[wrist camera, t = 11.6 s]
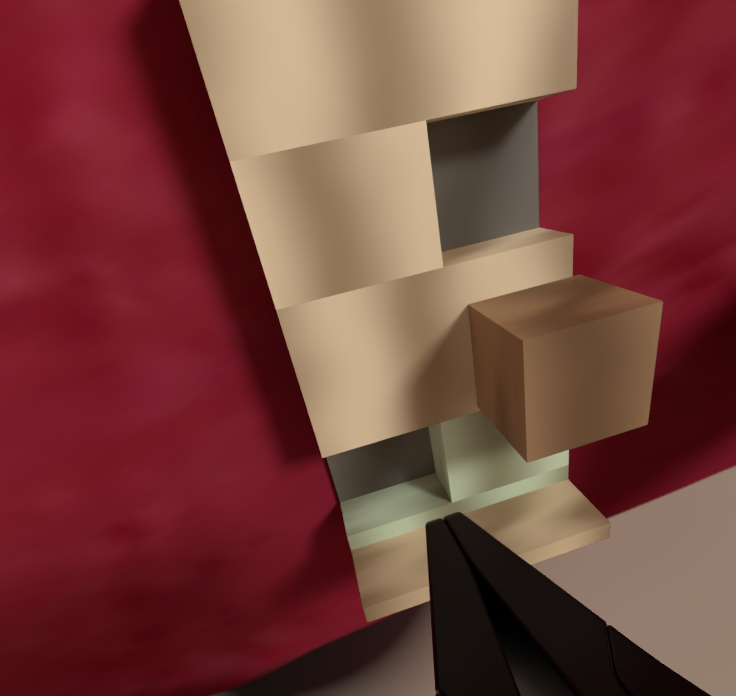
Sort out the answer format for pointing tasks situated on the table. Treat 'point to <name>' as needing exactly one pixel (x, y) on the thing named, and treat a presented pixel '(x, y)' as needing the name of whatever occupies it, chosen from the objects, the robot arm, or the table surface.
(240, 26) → the trap deck
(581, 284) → the walnut block
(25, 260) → the table surface
